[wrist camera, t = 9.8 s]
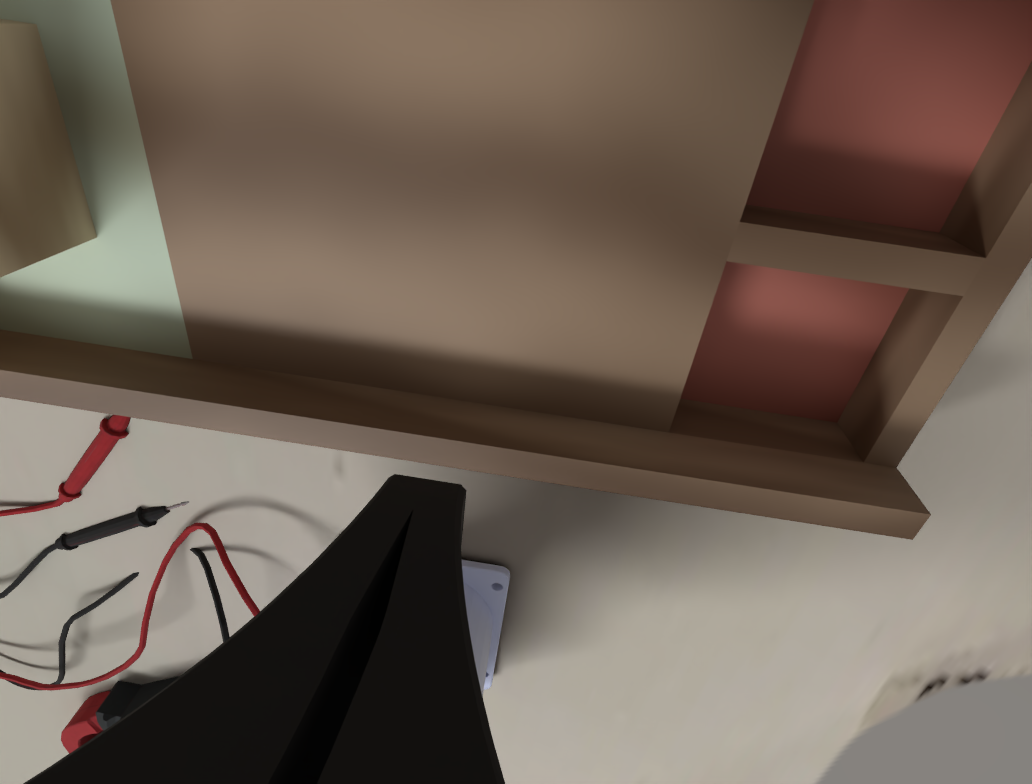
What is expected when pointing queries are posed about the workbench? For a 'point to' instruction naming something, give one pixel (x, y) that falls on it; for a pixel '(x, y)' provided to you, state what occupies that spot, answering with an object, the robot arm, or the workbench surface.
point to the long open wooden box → (540, 233)
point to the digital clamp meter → (124, 695)
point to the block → (35, 158)
